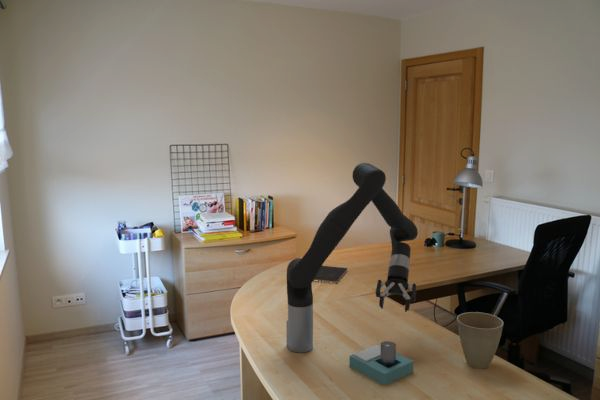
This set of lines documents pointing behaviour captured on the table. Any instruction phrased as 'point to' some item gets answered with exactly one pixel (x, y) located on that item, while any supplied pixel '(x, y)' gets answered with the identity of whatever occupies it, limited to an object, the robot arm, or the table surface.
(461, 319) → the plant pot
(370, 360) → the jig
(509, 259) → the table surface
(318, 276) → the hardcover book
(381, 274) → the table surface
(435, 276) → the table surface
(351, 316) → the table surface
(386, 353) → the dark grey cylinder
